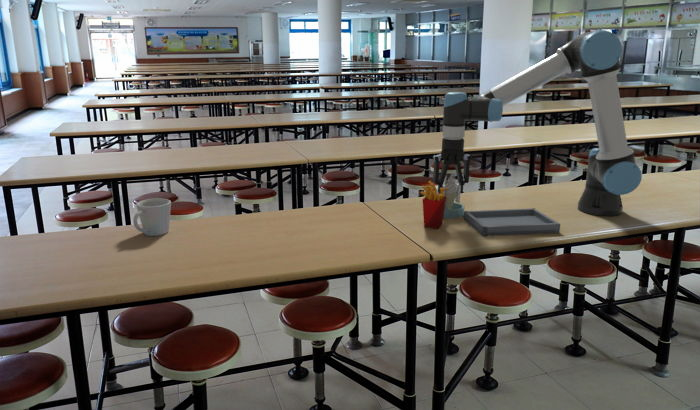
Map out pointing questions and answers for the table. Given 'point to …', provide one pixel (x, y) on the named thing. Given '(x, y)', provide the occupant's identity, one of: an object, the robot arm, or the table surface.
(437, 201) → the french fries
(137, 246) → the table surface
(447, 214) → the teal ring
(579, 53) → the robot arm
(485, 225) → the tray
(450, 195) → the soft serve swirl
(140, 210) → the mug
